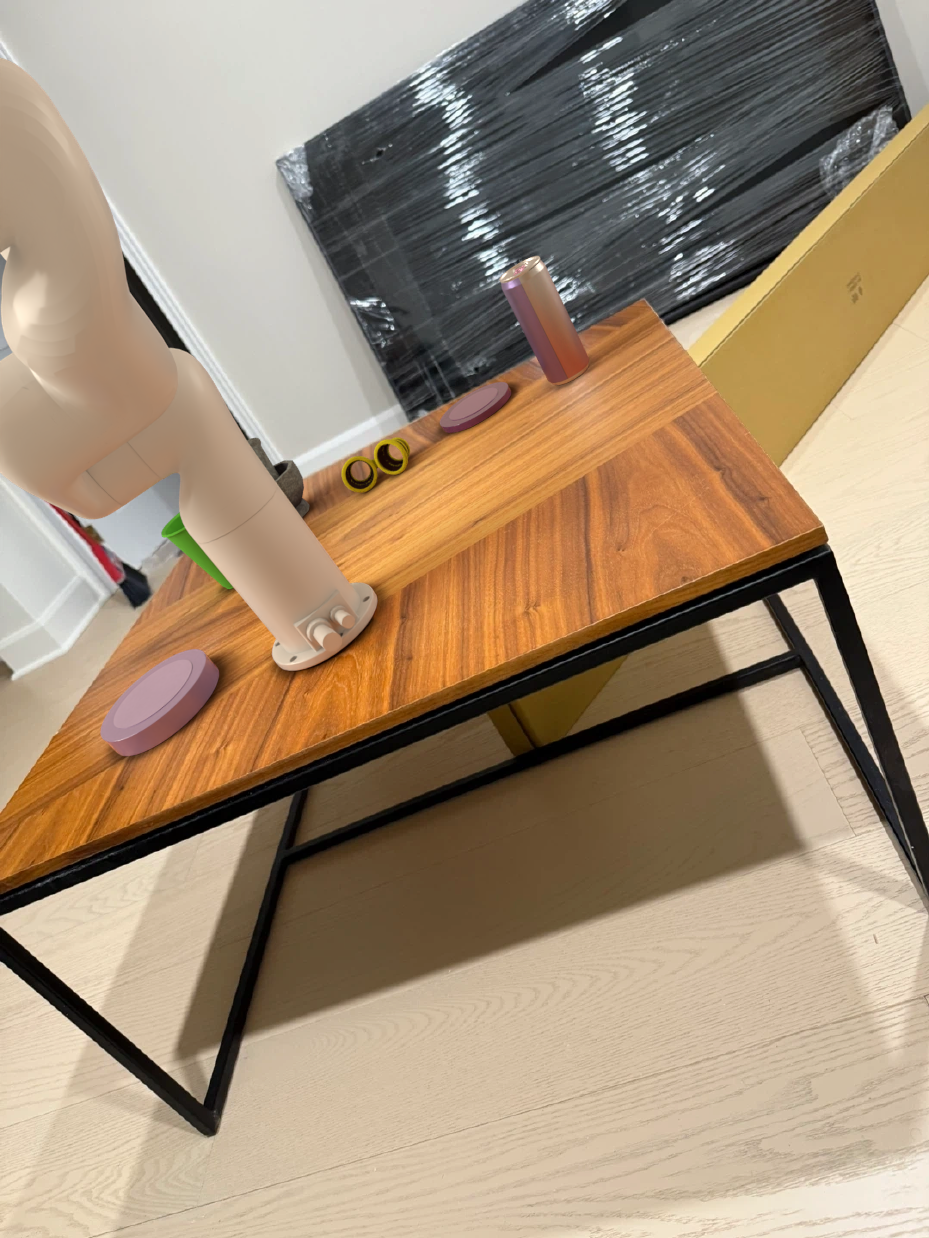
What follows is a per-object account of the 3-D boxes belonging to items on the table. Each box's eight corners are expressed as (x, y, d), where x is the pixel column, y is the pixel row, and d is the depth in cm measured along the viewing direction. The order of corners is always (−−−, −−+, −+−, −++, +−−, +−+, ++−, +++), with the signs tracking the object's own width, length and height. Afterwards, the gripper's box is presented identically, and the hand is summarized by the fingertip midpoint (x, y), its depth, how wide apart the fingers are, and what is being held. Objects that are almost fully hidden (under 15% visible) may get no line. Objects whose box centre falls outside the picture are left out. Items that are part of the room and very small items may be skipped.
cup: (253, 586, 109) (200, 520, 104) (203, 607, 113) (149, 544, 108) (277, 548, 116) (228, 484, 111) (229, 568, 120) (179, 508, 115)
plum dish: (525, 388, 115) (521, 381, 114) (466, 435, 112) (462, 429, 112) (486, 387, 124) (483, 381, 124) (430, 430, 122) (427, 424, 121)
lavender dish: (232, 685, 89) (218, 669, 88) (124, 775, 86) (108, 759, 85) (204, 650, 101) (190, 635, 100) (107, 728, 98) (93, 713, 97)
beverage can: (548, 392, 109) (494, 286, 102) (551, 375, 114) (500, 272, 106) (590, 373, 106) (539, 263, 99) (592, 356, 111) (542, 250, 104)
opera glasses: (418, 459, 118) (400, 427, 116) (414, 466, 113) (395, 434, 111) (359, 490, 120) (341, 460, 118) (353, 500, 115) (334, 468, 113)
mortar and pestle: (316, 515, 118) (265, 445, 113) (261, 546, 120) (209, 479, 114) (321, 486, 128) (275, 420, 122) (270, 515, 130) (222, 451, 124)
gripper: (19, 291, 91) (133, 432, 100) (28, 273, 78) (158, 436, 87) (77, 254, 93) (184, 396, 102) (95, 231, 80) (215, 395, 89)
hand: (171, 414), depth 94 cm, fingers closed
